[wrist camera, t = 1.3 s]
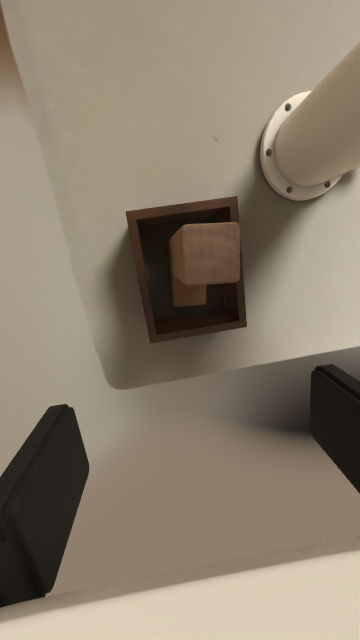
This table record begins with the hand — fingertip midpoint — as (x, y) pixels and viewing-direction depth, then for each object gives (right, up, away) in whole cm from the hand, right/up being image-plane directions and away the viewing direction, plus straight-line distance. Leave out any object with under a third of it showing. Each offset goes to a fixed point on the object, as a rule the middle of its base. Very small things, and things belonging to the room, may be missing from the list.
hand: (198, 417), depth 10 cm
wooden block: (0, +11, +27) cm, 29 cm away
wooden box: (0, +11, +27) cm, 29 cm away
